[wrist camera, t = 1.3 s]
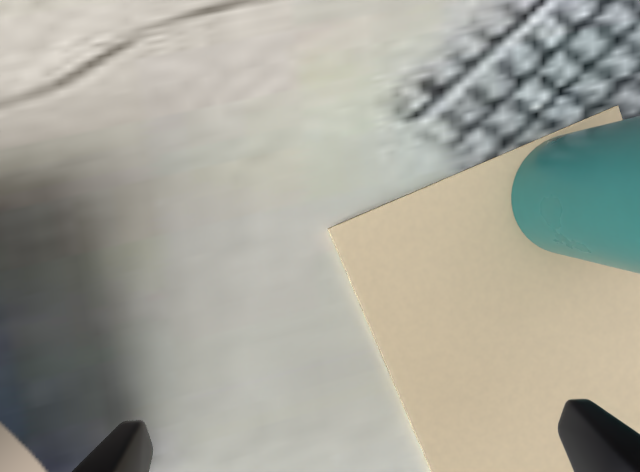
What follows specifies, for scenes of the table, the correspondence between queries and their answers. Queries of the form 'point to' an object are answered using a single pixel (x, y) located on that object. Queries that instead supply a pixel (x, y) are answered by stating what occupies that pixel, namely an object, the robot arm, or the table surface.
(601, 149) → the flask
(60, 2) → the table surface
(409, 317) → the cloth
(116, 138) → the table surface
